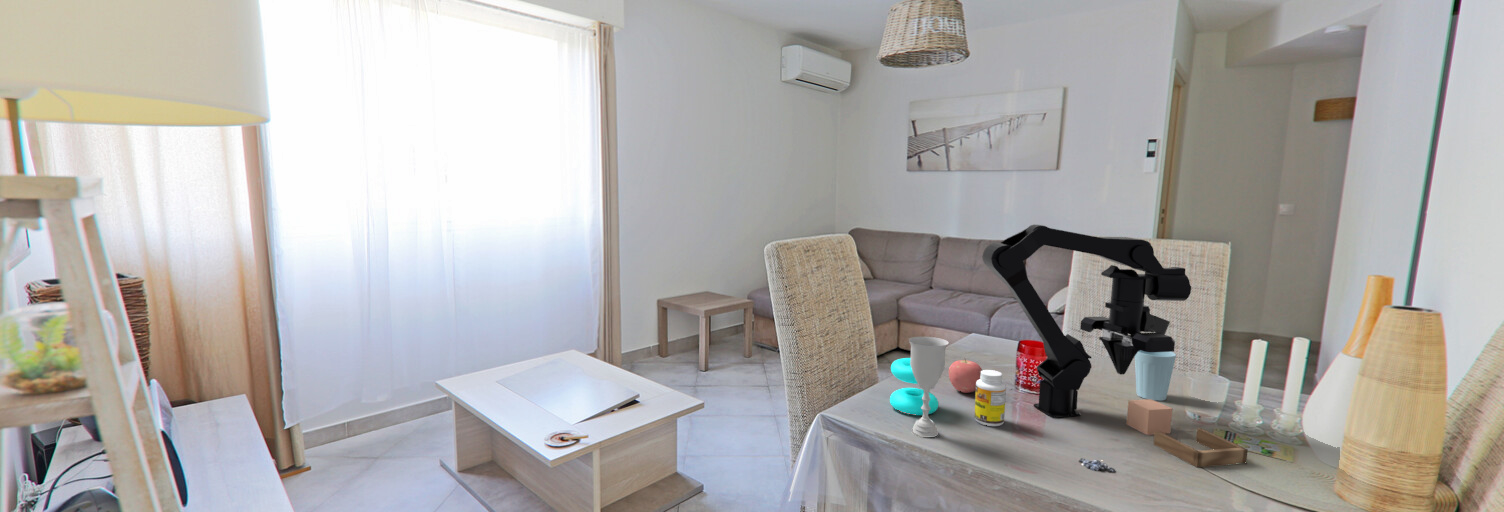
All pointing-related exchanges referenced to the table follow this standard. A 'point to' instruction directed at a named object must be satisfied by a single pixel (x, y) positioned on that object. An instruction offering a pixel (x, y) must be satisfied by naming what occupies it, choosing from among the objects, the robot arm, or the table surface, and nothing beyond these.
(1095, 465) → the metal chain
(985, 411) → the supplement bottle
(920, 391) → the donuts
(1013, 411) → the table surface
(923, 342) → the chalice
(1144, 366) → the cup
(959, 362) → the apple
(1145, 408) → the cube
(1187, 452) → the frame
